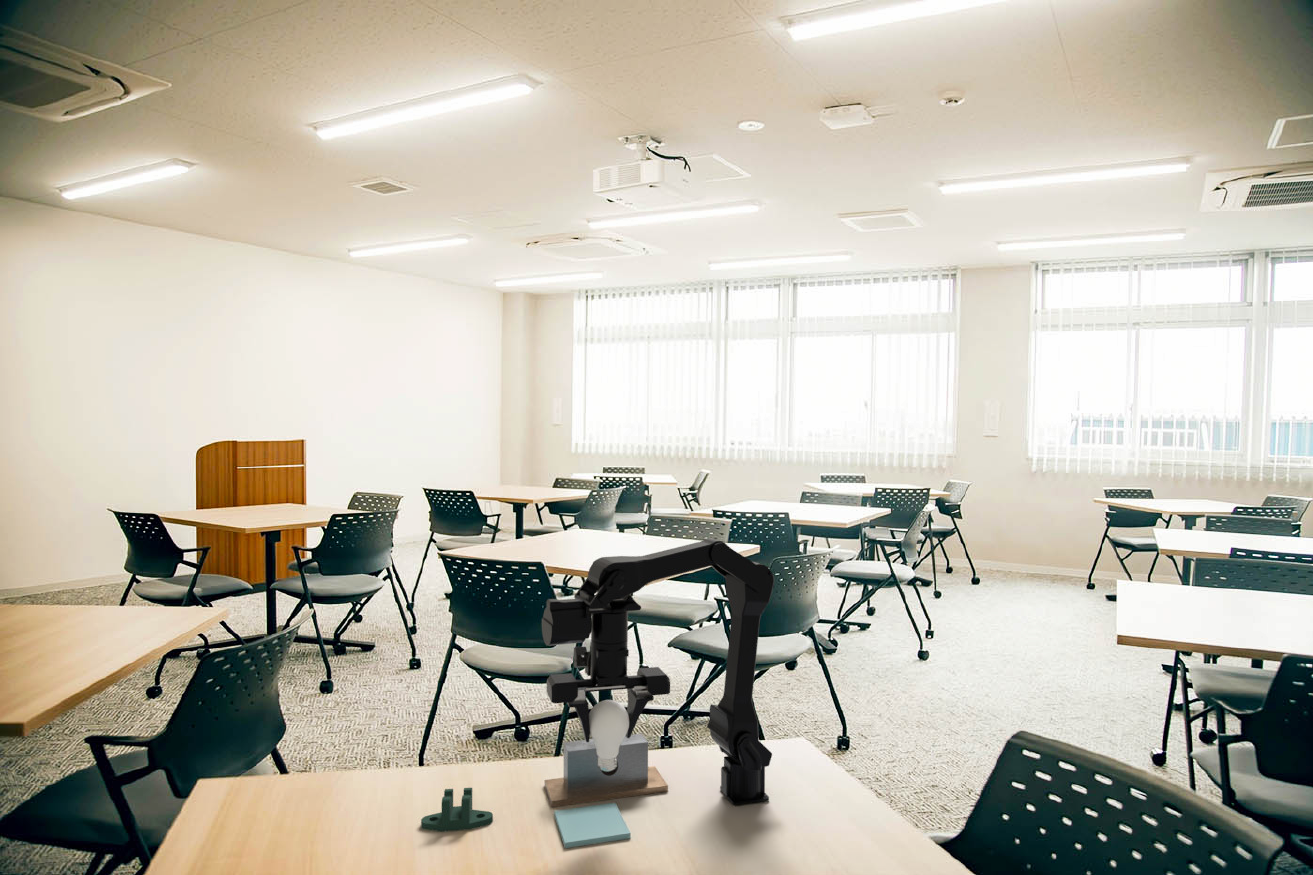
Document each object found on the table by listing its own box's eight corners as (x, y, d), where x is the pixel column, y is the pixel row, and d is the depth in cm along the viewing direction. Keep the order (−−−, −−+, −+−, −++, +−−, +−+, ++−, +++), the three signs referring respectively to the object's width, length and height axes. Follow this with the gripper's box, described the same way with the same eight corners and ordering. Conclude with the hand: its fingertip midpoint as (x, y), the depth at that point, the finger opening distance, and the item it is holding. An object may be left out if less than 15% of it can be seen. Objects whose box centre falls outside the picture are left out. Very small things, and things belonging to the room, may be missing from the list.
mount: (493, 815, 123) (493, 784, 123) (491, 829, 119) (491, 797, 119) (423, 820, 122) (423, 789, 122) (418, 834, 118) (418, 802, 118)
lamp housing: (654, 771, 139) (654, 727, 139) (667, 791, 131) (667, 744, 131) (544, 785, 133) (544, 739, 133) (551, 807, 126) (551, 758, 126)
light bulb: (622, 782, 116) (624, 710, 116) (580, 778, 117) (582, 706, 118) (632, 764, 123) (634, 696, 123) (592, 760, 124) (594, 692, 124)
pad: (615, 807, 126) (615, 802, 126) (630, 838, 116) (630, 832, 116) (554, 815, 123) (554, 810, 123) (564, 848, 113) (564, 842, 113)
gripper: (652, 624, 131) (650, 716, 130) (542, 630, 125) (540, 726, 125) (672, 641, 120) (670, 741, 120) (553, 648, 114) (551, 753, 114)
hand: (607, 739), depth 120 cm, fingers closed on light bulb, 6 cm apart
